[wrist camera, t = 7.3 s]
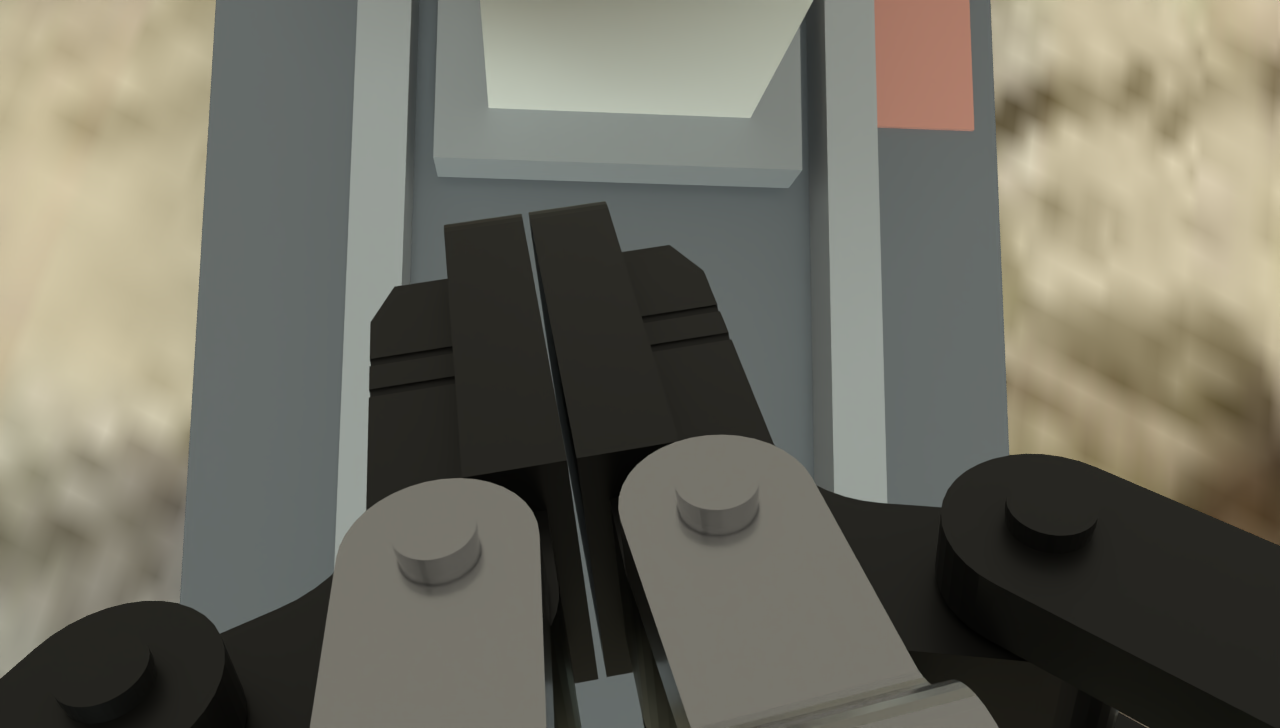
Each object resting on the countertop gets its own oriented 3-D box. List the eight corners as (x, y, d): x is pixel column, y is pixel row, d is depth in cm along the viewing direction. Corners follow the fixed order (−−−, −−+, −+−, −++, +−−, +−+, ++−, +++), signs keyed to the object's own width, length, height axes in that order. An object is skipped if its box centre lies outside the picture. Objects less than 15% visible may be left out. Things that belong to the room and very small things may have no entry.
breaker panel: (199, 742, 24) (144, 777, 20) (245, -62, 26) (203, -153, 23) (982, 734, 25) (1055, 764, 22) (954, -26, 28) (1015, -106, 24)
